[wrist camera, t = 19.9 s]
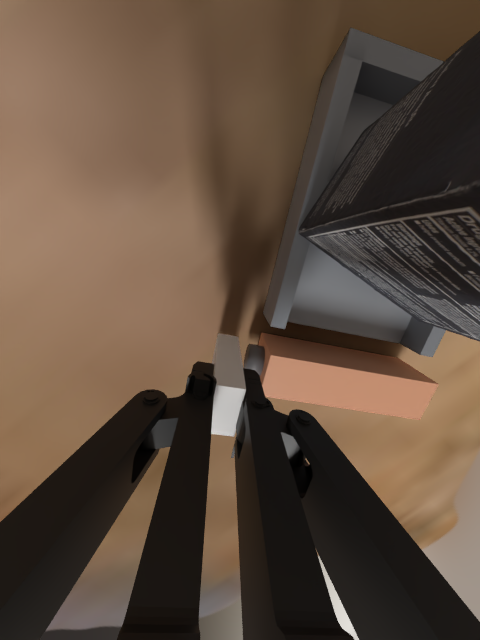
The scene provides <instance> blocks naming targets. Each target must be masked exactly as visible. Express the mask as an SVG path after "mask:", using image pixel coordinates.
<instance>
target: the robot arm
mask: <svg viewBox="0 0 480 640" xmlns="http://www.w3.org/2000/svg"><path fill="white" fill-rule="evenodd" d="M235 431H236V433H237V436H236V440H235V444H234V448H233V452H232V456H231V458H234V454H235V470H236V492H237V514H238V536H239V558H240V580H241V602H242V622H243V623H242V624H243V640H354V639H353V637H352V636H351V635H349V633H347V632H346V631H345V630H343V629H342V628H341V626H340V624H339V623H338V621H337V618H336V615H335V613H334V609H333V606H332V602H331V599H330V596H329V593H328V589H327V586H326V582H325V579H324V576H323V572H322V569H321V566H320V563H319V559H318V555H317V552H318V554H319V556H320V558H321V560H322V562H323V564H324V567H325V569H326V571H327V573H328V575H329V577H330V579H331V581H332V583H333V585H334V587H335V590H336V592H337V594H338V596H339V598H340V600H341V602H342V604H343V606H344V608H345V610H346V613H347V615H348V617H349V619H350V621H351V623H352V625H353V627H354V629H355V631H356V633H357V636H358V638H359V640H480V622H479V621H478V619H477V618H476V617H475V616H474V614H473V613H472V612H471V611H470V610H469V608H468V607H467V606H466V604H465V603H464V602H463V601H462V600H461V598H460V597H459V596H458V595H457V593H456V592H455V591H454V590H453V588H452V587H451V586H450V585H449V584H448V582H447V581H446V580H445V579H444V577H443V576H442V575H441V574H440V572H439V571H438V570H437V569H436V567H435V566H434V565H433V564H432V562H431V561H430V560H429V559H428V557H426V555H425V554H424V553H423V551H422V550H421V549H420V548H419V546H418V545H417V544H416V543H415V541H414V540H413V539H412V538H411V536H410V535H409V534H408V533H407V532H406V530H405V529H404V528H403V527H402V525H401V524H400V523H399V522H398V520H397V519H396V518H395V517H394V515H393V514H392V513H391V512H390V511H389V509H388V508H387V507H386V506H385V504H384V503H383V502H382V501H381V499H380V498H379V497H378V496H377V494H376V493H375V492H374V491H373V490H372V488H371V487H370V486H369V485H368V483H367V482H366V481H365V480H364V478H363V477H362V476H361V475H360V473H359V472H358V471H357V470H356V468H355V467H354V466H353V465H352V464H351V462H350V461H349V460H348V459H347V457H346V456H345V455H344V454H343V452H342V451H341V450H340V449H339V447H338V446H337V445H336V444H335V443H334V441H333V440H332V439H331V438H330V436H329V435H328V434H327V433H326V431H325V430H324V429H323V428H322V426H321V425H320V424H319V423H318V422H317V420H316V419H315V418H314V417H313V416H312V415H311V414H309V413H307V412H305V411H302V410H297V409H296V410H292V411H291V412H290V413H289V416H288V415H285V414H283V413H280V412H278V411H276V410H274V408H273V405H272V403H271V402H270V401H269V400H268V399H267V398H265V394H264V391H263V387H262V383H261V380H260V376H259V374H258V373H257V372H256V371H255V370H251V369H245V368H243V365H242V358H241V351H240V345H239V338H238V336H232V335H226V334H221V333H218V336H217V341H216V346H215V350H214V355H213V360H212V364H211V363H205V362H199V361H198V362H197V363H195V364H194V365H193V368H192V372H191V374H190V375H189V376H188V379H187V384H186V390H185V393H184V394H183V395H181V396H179V397H175V398H167V396H166V395H165V394H164V393H163V392H161V391H159V390H145V391H141V392H140V393H138V394H137V395H135V396H134V397H133V398H132V399H131V400H130V401H129V402H128V403H127V404H126V405H125V406H124V407H123V408H122V409H121V410H119V411H118V412H117V413H116V414H115V415H114V416H113V417H112V418H111V419H110V420H109V421H108V422H107V423H106V424H105V425H103V426H102V427H101V428H100V429H99V430H98V431H97V432H96V433H95V434H94V435H93V436H92V437H91V438H90V439H89V440H87V441H86V442H85V443H84V444H83V445H82V446H81V447H80V448H79V449H78V450H77V451H76V452H75V453H74V454H73V455H71V456H70V457H69V458H68V459H67V460H66V461H65V462H64V463H63V464H62V465H61V466H60V467H59V468H58V469H57V470H55V471H54V472H53V473H52V474H51V475H50V476H49V477H48V478H47V479H46V480H45V481H44V482H43V483H42V484H41V485H39V486H38V487H37V488H36V489H35V490H34V491H33V492H32V493H31V494H30V495H29V496H28V497H27V498H26V499H25V500H23V501H22V502H21V503H20V504H19V505H18V506H17V507H16V508H15V509H14V510H13V511H12V512H11V513H10V514H9V515H7V516H6V517H5V518H4V519H3V520H2V521H1V522H0V640H40V638H41V637H42V635H43V634H44V632H45V631H46V629H47V627H48V626H49V624H50V623H51V621H52V620H53V618H54V616H55V615H56V613H57V612H58V610H59V608H60V607H61V605H62V604H63V602H64V601H65V599H66V597H67V596H68V594H69V593H70V591H71V590H72V588H73V586H74V585H75V583H76V582H77V580H78V578H79V577H80V575H81V574H82V572H83V571H84V569H85V567H86V566H87V564H88V563H89V561H90V560H91V558H92V556H93V555H94V553H95V552H96V550H97V548H98V547H99V545H100V544H101V542H102V541H103V539H104V537H105V536H106V534H107V533H108V531H109V530H110V528H111V526H112V525H113V523H114V522H115V520H116V519H117V517H118V515H119V514H120V512H121V511H122V509H123V507H124V506H125V504H126V503H127V501H128V500H129V498H130V496H131V495H132V493H133V492H134V490H135V489H136V487H137V485H138V484H139V482H140V481H141V479H142V477H143V476H144V474H145V473H146V471H147V470H148V468H149V466H150V465H151V463H152V462H153V460H154V459H155V457H156V455H157V454H158V452H159V449H160V448H165V447H171V448H170V451H169V455H168V459H167V463H166V466H165V470H164V474H163V478H162V481H161V485H160V489H159V493H158V496H157V500H156V504H155V508H154V511H153V515H152V519H151V523H150V526H149V530H148V534H147V538H146V541H145V545H144V549H143V553H142V556H141V560H140V564H139V568H138V571H137V575H136V579H135V583H134V586H133V590H132V594H131V598H130V601H129V605H128V609H127V612H126V616H125V619H124V622H123V625H122V627H121V630H120V632H119V635H118V638H117V640H200V631H199V623H198V622H199V602H200V587H201V573H202V558H203V544H204V529H205V515H206V500H207V486H208V472H209V457H210V443H211V434H218V435H226V436H234V435H235ZM306 458H307V460H308V461H309V463H310V465H309V464H308V463H307V462H306V460H305V459H306ZM315 548H316V549H315ZM316 550H317V552H316Z"/></svg>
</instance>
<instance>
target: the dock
mask: <svg viewBox="0 0 480 640" xmlns="http://www.w3.org/2000/svg"><path fill="white" fill-rule="evenodd" d="M443 62H444V61H441V60H438V59H436V58H433V57H430V56H427V55H425V54H422V53H419V52H416V51H414V50H411V49H408V48H405V47H403V46H400V45H397V44H394V43H392V42H389V41H386V40H383V39H381V38H378V37H375V36H373V35H370V34H367V33H364V32H362V31H359V30H356V29H353V28H350V30H349V31H348V33H347V35H346V37H345V38H344V40H343V42H342V44H341V46H340V47H339V49H338V51H337V53H336V54H335V56H334V58H333V60H332V61H331V63H330V65H329V67H328V68H327V70H326V72H325V74H324V75H323V79H322V82H321V86H320V90H319V94H318V98H317V102H316V106H315V110H314V114H313V118H312V122H311V126H310V130H309V134H308V138H307V141H306V145H305V149H304V153H303V157H302V161H301V165H300V169H299V173H298V177H297V181H296V185H295V189H294V193H293V197H292V200H291V204H290V208H289V212H288V216H287V220H286V224H285V228H284V232H283V236H282V240H281V244H280V248H279V252H278V256H277V259H276V263H275V267H274V271H273V275H272V279H271V283H270V287H269V291H268V295H267V299H266V303H265V307H264V311H263V314H264V316H265V318H266V319H267V321H268V323H269V325H270V326H271V327H276V328H281V329H285V328H286V324H287V322H291V323H297V324H302V325H307V326H312V327H317V328H322V329H328V330H333V331H338V332H343V333H348V334H353V335H359V336H364V337H369V338H374V339H379V340H384V341H390V342H395V343H400V344H402V345H403V346H405V347H407V348H409V349H411V350H412V351H414V352H416V353H418V354H420V355H424V356H429V357H433V355H434V353H435V351H436V349H437V347H438V345H439V343H440V341H441V339H442V337H443V335H444V333H445V331H446V330H444V329H441V328H438V327H435V326H432V325H429V324H426V323H423V322H419V321H418V320H417V319H415V318H414V317H413V316H411V315H410V314H408V313H407V312H405V311H404V310H403V309H401V308H400V307H398V306H397V305H395V304H394V303H392V302H391V301H390V300H389V299H387V298H386V297H384V296H383V295H381V294H380V293H379V292H377V291H375V290H374V289H373V288H372V287H371V286H369V285H368V284H366V283H365V282H364V281H363V280H361V279H360V278H359V277H357V276H356V275H354V274H353V273H352V272H350V271H349V270H348V269H346V268H345V267H342V266H341V264H339V263H338V262H337V261H335V260H334V259H333V258H331V257H330V256H328V255H327V254H326V253H324V252H323V251H322V250H320V249H319V248H317V247H316V246H315V245H313V244H312V243H311V242H310V241H308V240H307V239H306V238H304V237H303V236H301V235H300V234H299V227H300V226H301V224H302V223H303V221H304V219H305V218H306V216H307V215H308V213H309V212H310V210H311V209H312V207H313V206H314V204H315V203H316V201H317V200H318V198H319V197H320V195H321V194H322V192H323V191H324V189H325V188H326V186H327V184H328V183H329V181H330V180H331V178H332V177H333V176H334V174H335V172H336V171H337V169H338V168H339V166H340V165H341V163H342V162H343V160H344V159H345V157H346V156H347V154H348V153H349V151H350V150H351V148H352V147H353V145H354V144H355V142H356V141H357V139H358V138H359V136H360V135H361V133H362V132H363V131H364V130H365V129H366V128H367V127H368V126H369V125H371V124H372V123H374V122H375V121H376V120H377V119H378V118H380V117H381V116H382V115H383V114H384V113H385V112H386V111H388V110H389V109H390V108H391V107H392V106H393V105H394V104H396V103H397V102H398V101H399V100H400V99H401V98H402V97H404V96H405V95H406V94H407V93H408V92H410V91H411V90H412V89H413V88H414V87H415V86H416V85H418V84H419V83H420V82H421V81H422V80H424V79H425V78H426V77H427V76H428V75H429V74H430V73H431V72H433V71H434V70H435V69H436V68H438V67H439V66H440V65H441V64H442V63H443Z"/></svg>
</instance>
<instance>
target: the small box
mask: <svg viewBox="0 0 480 640" xmlns="http://www.w3.org/2000/svg"><path fill="white" fill-rule="evenodd" d="M299 234H300V235H301V236H303V237H304V238H306V239H307V240H308V241H310V242H311V243H312V244H313V245H315V246H316V247H317V248H319V249H320V250H322V251H323V252H324V253H326V254H327V255H328V256H330V257H331V258H333V259H334V260H335V261H337V262H338V263H339V264H341V266H342V267H345V268H346V269H348V270H349V271H350V272H352V273H353V274H354V275H356V276H357V277H359V278H360V279H361V280H363V281H364V282H365V283H366V284H368V285H369V286H371V287H372V288H373V289H374V290H375V291H377V292H379V293H380V294H381V295H383V296H384V297H386V298H387V299H389V300H390V301H391V302H392V303H394V304H395V305H397V306H398V307H400V308H401V309H403V310H404V311H405V312H407V313H408V314H410V315H411V316H413V317H414V318H415V319H417V320H418V321H419V322H423V323H426V324H429V325H432V326H435V327H438V328H441V329H444V330H448V331H450V332H453V333H456V334H460V335H463V336H466V337H468V338H470V339H474V340H477V341H480V31H479V32H478V33H477V34H476V35H475V36H474V37H472V38H471V39H470V40H469V41H468V42H466V43H465V44H464V45H463V46H462V47H460V48H459V49H458V50H457V51H456V52H455V53H454V54H452V55H451V56H450V57H449V58H448V59H447V60H446V61H444V62H443V63H442V64H441V65H440V66H439V67H438V68H436V69H435V70H434V71H433V72H431V73H430V74H429V75H428V76H427V77H426V78H425V79H424V80H422V81H421V82H420V83H419V84H418V85H416V86H415V87H414V88H413V89H412V90H411V91H410V92H408V93H407V94H406V95H405V96H404V97H402V98H401V99H400V100H399V101H398V102H397V103H396V104H394V105H393V106H392V107H391V108H390V109H389V110H388V111H386V112H385V113H384V114H383V115H382V116H381V117H380V118H378V119H377V120H376V121H375V122H374V123H372V124H371V125H369V126H368V127H367V128H366V129H365V130H364V131H363V132H362V133H361V135H360V136H359V138H358V139H357V141H356V142H355V144H354V145H353V147H352V148H351V150H350V151H349V153H348V154H347V156H346V157H345V159H344V160H343V162H342V163H341V165H340V166H339V168H338V169H337V171H336V172H335V174H334V176H333V177H332V178H331V180H330V181H329V183H328V184H327V186H326V188H325V189H324V191H323V192H322V194H321V195H320V197H319V198H318V200H317V201H316V203H315V204H314V206H313V207H312V209H311V210H310V212H309V213H308V215H307V216H306V218H305V219H304V221H303V223H302V224H301V226H300V227H299Z"/></svg>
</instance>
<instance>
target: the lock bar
mask: <svg viewBox="0 0 480 640" xmlns="http://www.w3.org/2000/svg"><path fill="white" fill-rule="evenodd" d="M244 368H245V369H251V370H255V371H256V372H257V373H258V374H259V376H260V380H261V383H262V387H263V391H264V394H265V397H272V398H278V399H285V400H291V401H298V402H305V403H311V404H318V405H324V406H331V407H338V408H344V409H351V410H357V411H364V412H371V413H377V414H384V415H390V416H397V417H404V418H410V419H417V420H420V419H421V417H422V415H423V413H424V412H425V410H426V408H427V406H428V404H429V402H430V400H431V398H432V396H433V395H434V393H435V391H436V389H437V387H438V385H439V384H438V383H436V382H434V381H433V380H431V379H430V378H428V377H427V376H425V375H424V374H422V373H421V372H419V371H417V370H416V369H414V368H413V367H411V366H410V365H408V364H407V363H405V362H403V361H402V360H400V359H399V358H396V357H391V356H386V355H380V354H375V353H369V352H364V351H359V350H353V349H348V348H342V347H337V346H332V345H326V344H321V343H315V342H310V341H305V340H299V339H294V338H288V337H283V336H278V335H272V334H267V333H261V336H260V340H259V344H258V345H253V344H249V345H248V347H247V350H246V354H245V359H244Z"/></svg>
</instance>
